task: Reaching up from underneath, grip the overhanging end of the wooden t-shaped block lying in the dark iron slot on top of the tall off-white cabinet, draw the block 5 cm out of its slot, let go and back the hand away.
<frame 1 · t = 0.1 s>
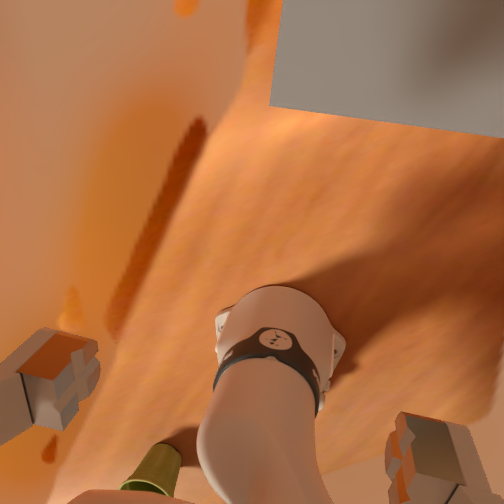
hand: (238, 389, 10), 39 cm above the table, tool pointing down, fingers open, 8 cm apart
plant pot: (166, 454, 68), on the table
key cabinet: (409, 3, 38), on the table
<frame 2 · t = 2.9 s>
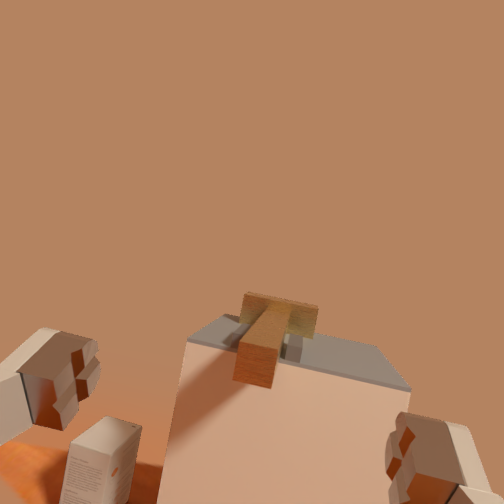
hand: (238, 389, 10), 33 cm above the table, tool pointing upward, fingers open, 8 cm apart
wooden t-shaped block: (266, 350, 39), point 26 cm above the table, touching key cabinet
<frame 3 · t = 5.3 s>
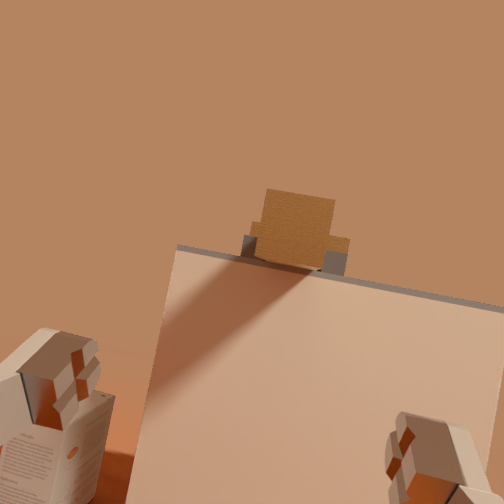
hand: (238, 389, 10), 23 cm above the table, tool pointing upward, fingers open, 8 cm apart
wooden t-shaped block: (291, 266, 27), point 26 cm above the table, touching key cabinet
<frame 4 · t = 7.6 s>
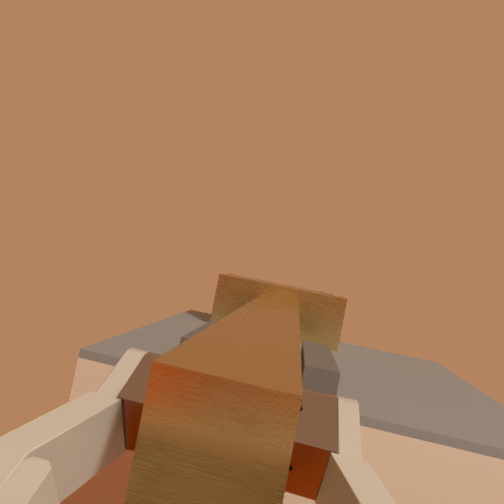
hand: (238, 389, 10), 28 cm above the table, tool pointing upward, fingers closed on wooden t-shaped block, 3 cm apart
wooden t-shaped block: (256, 376, 18), point 26 cm above the table, touching gripper, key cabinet
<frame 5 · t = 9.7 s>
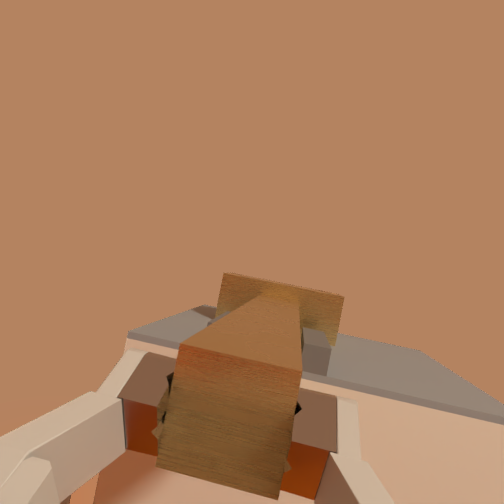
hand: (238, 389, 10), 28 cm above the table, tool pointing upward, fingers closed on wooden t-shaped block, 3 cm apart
wooden t-shaped block: (260, 366, 20), point 26 cm above the table, touching gripper, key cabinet
when the fingers open (28 cm above the table, at t = 10.0 s): wooden t-shaped block stays where it is, resting on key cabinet.
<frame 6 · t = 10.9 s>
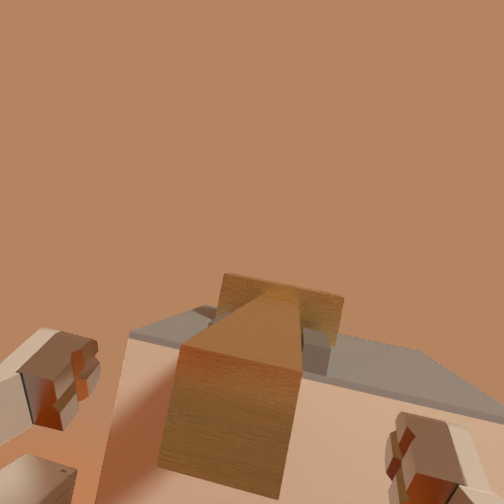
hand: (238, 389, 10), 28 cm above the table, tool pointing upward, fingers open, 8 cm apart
wooden t-shaped block: (260, 367, 20), point 26 cm above the table, touching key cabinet
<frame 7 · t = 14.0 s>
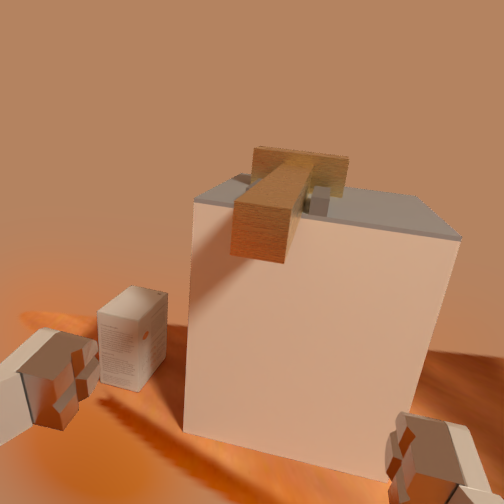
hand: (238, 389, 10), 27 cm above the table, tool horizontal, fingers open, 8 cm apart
wooden t-shaped block: (282, 214, 31), point 26 cm above the table, touching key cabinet
small box: (134, 371, 51), on the table
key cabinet: (289, 399, 48), on the table
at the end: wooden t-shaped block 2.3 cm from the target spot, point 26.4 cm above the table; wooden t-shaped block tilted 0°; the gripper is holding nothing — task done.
